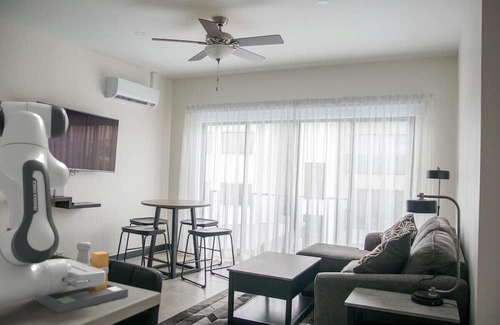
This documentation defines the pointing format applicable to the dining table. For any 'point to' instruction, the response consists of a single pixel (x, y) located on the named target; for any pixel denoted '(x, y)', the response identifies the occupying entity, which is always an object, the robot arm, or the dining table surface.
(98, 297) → the panel
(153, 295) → the dining table surface
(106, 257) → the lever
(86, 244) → the salt shaker
